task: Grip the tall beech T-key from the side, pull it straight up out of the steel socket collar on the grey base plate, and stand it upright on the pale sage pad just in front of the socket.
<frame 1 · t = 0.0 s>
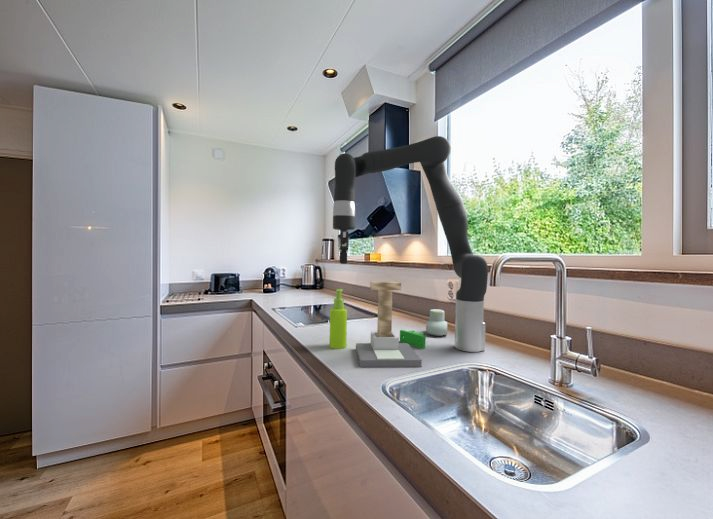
hand: (343, 263, 107), 29 cm above the counter, tool pointing down, fingers open, 8 cm apart
soap dispenser: (338, 346, 110), on the counter
air freshener: (436, 334, 129), on the counter
grey base plate: (386, 357, 99), on the counter
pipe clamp: (414, 345, 114), on the counter
T-key: (383, 346, 104), point 2 cm above the counter, touching grey base plate
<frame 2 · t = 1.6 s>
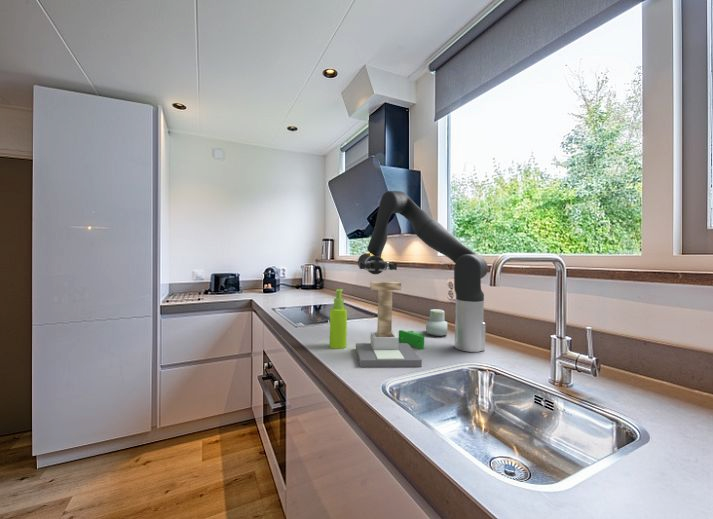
hand: (380, 266, 114), 28 cm above the counter, tool horizontal, fingers open, 8 cm apart
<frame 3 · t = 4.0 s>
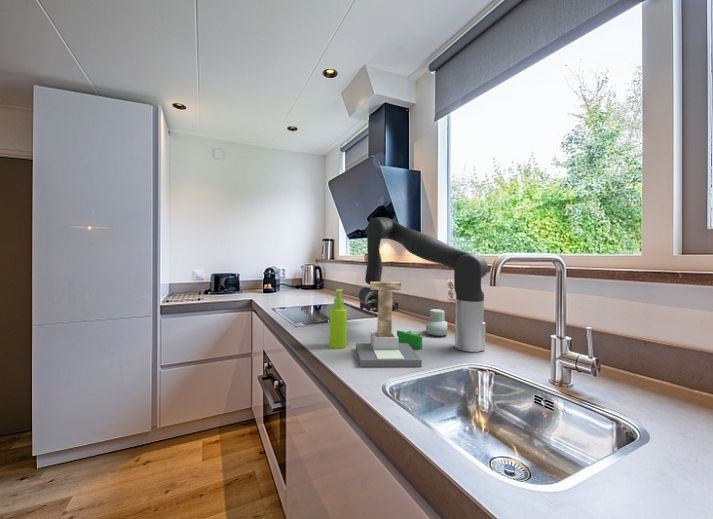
hand: (381, 308, 111), 13 cm above the counter, tool horizontal, fingers open, 8 cm apart
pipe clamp: (411, 346, 113), on the counter
everything else where it was.
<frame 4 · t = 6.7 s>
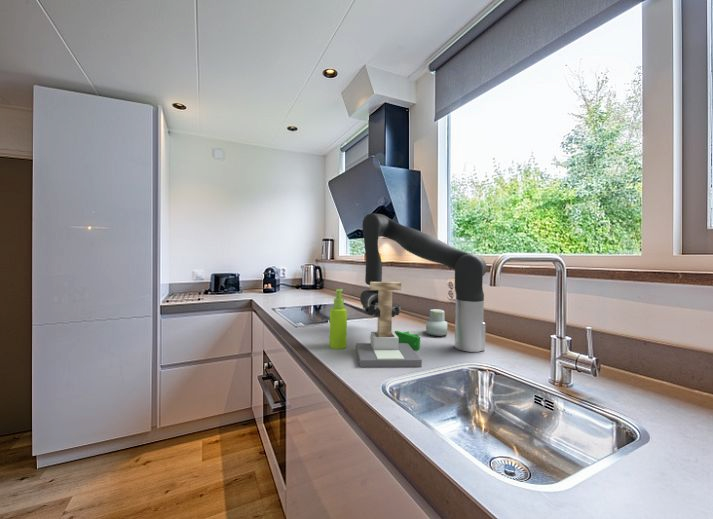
hand: (386, 313, 101), 13 cm above the counter, tool horizontal, fingers closed on T-key, 4 cm apart
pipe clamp: (409, 346, 113), on the counter
T-key: (383, 346, 104), point 2 cm above the counter, touching gripper, grey base plate
everything else where it was.
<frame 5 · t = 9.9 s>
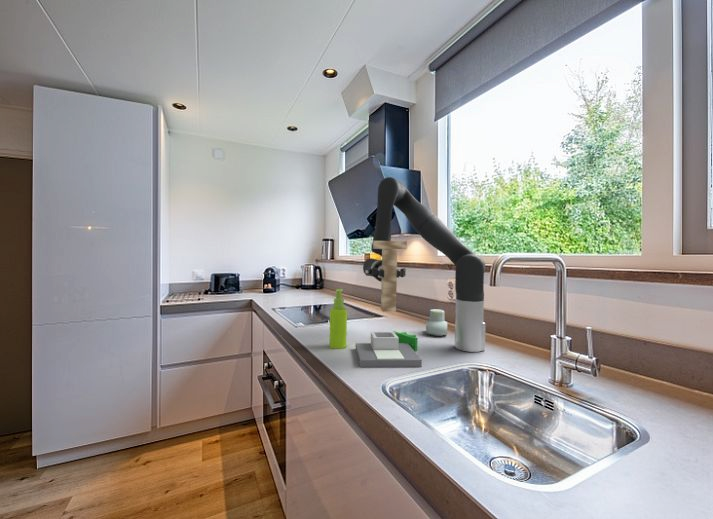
hand: (390, 273, 94), 27 cm above the counter, tool horizontal, fingers closed on T-key, 4 cm apart
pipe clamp: (406, 347, 112), on the counter
T-key: (388, 310, 97), point 15 cm above the counter, touching gripper
everything else where it was.
when the fingers open (15 cm above the counter, at t = 13.2 s): T-key drops 1 cm, resting on grey base plate.
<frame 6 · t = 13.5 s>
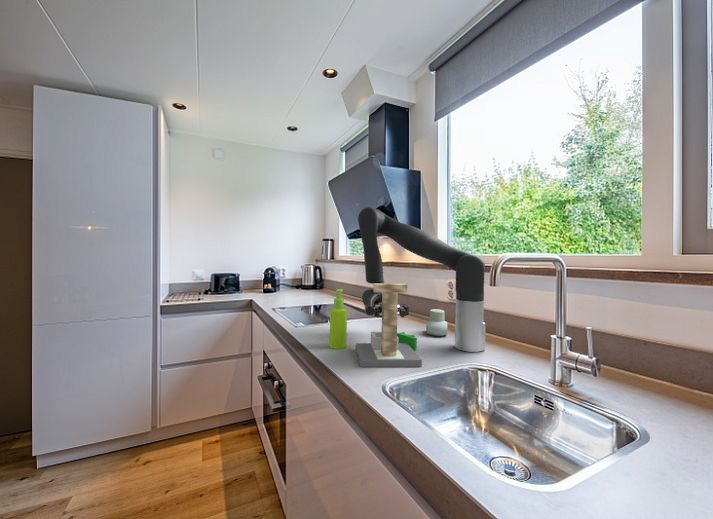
hand: (391, 314, 93), 15 cm above the counter, tool horizontal, fingers open, 7 cm apart
T-key: (388, 354, 95), point 2 cm above the counter, touching grey base plate
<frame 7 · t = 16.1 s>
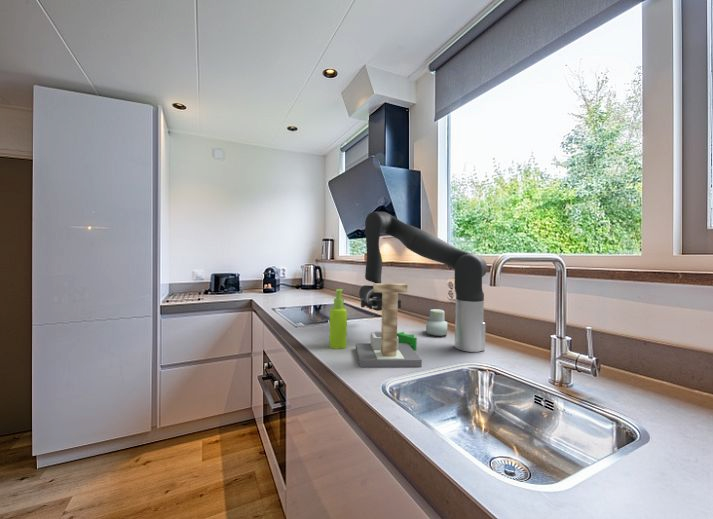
hand: (383, 306, 106), 15 cm above the counter, tool horizontal, fingers open, 8 cm apart
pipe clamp: (404, 347, 112), on the counter, touching grey base plate
everything else where it was.
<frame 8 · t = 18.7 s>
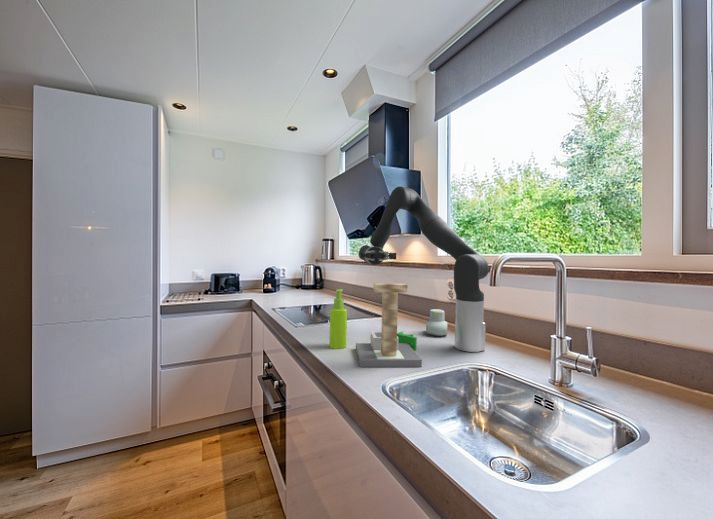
hand: (380, 255, 116), 32 cm above the counter, tool horizontal, fingers open, 8 cm apart
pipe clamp: (404, 347, 112), on the counter
everything else where it was.
at the end: T-key 0.1 cm from the target spot on the grey base plate, point 2.3 cm above the grey base plate's base; T-key tilted 0°; the gripper is holding nothing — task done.
